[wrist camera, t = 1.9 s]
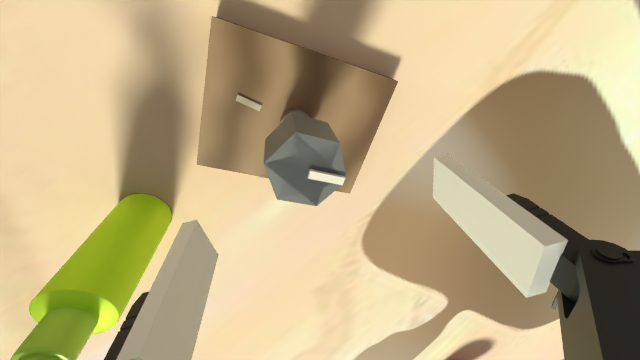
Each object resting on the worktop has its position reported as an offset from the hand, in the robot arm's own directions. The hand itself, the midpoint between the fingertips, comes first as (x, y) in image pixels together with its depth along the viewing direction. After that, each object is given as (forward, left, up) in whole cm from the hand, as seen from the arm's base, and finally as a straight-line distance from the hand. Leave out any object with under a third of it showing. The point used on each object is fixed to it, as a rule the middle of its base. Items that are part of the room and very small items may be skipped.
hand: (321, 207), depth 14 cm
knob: (0, 0, -9) cm, 9 cm away
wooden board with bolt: (0, 0, -17) cm, 17 cm away
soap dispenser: (-15, -16, -17) cm, 28 cm away
